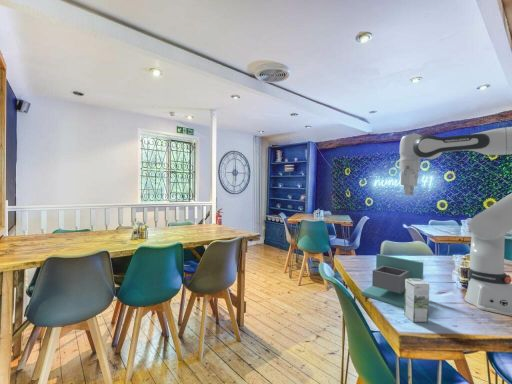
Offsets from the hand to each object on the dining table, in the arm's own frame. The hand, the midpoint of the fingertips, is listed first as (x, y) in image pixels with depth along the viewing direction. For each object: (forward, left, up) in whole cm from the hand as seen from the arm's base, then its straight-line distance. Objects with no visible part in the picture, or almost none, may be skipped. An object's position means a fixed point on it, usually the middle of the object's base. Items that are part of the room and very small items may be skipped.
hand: (409, 194), depth 132 cm
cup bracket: (+1, +18, -46) cm, 49 cm away
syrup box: (-13, +34, -46) cm, 59 cm away
